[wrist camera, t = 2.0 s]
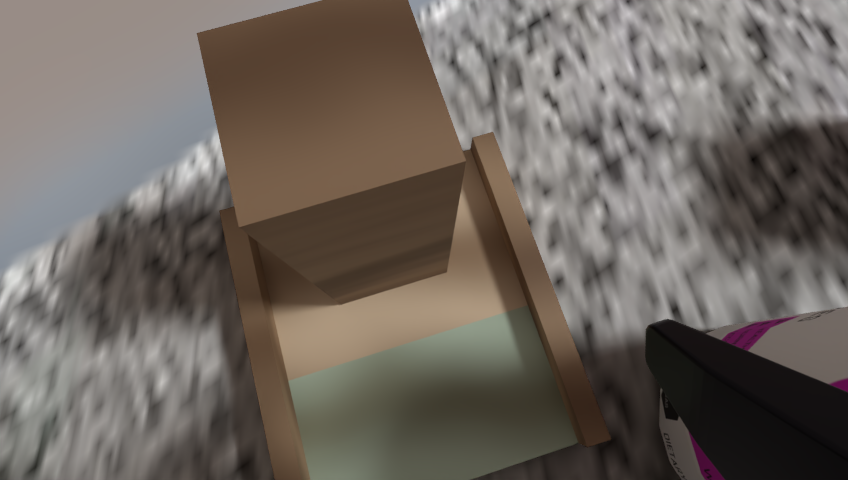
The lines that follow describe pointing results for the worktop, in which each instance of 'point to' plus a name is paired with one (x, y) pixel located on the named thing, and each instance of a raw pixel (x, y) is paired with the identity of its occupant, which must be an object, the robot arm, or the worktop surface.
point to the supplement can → (777, 341)
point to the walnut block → (337, 143)
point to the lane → (418, 354)
